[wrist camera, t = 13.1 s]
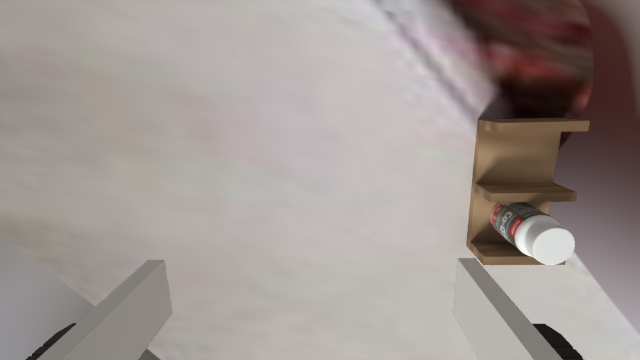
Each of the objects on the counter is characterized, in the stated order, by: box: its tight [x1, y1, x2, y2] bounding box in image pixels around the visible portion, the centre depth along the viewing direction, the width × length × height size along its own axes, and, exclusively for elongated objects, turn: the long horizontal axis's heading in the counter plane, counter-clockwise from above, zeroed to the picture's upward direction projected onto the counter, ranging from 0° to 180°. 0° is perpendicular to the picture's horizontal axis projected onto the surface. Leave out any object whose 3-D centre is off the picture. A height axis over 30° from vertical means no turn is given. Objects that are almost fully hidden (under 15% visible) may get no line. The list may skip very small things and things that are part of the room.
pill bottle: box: [491, 202, 575, 265], centre depth 36 cm, size 5×5×8 cm
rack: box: [466, 118, 590, 265], centre depth 38 cm, size 16×9×5 cm, turn 2°
